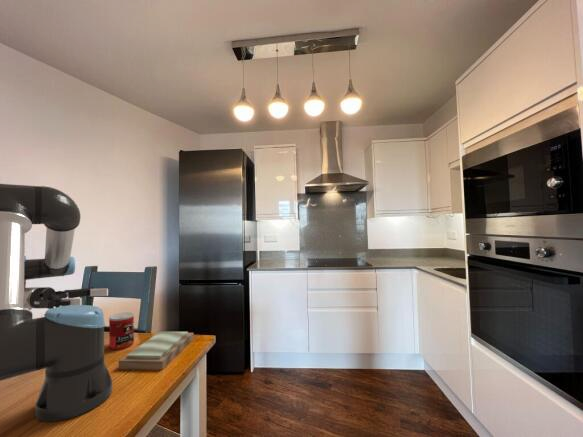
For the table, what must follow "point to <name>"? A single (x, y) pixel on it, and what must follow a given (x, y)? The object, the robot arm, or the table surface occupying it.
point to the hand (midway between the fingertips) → (95, 296)
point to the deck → (157, 351)
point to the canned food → (121, 330)
